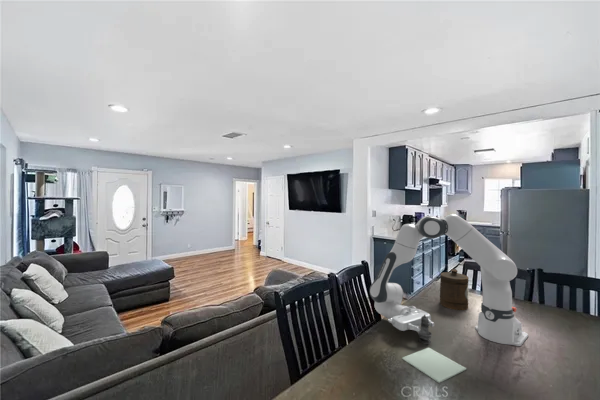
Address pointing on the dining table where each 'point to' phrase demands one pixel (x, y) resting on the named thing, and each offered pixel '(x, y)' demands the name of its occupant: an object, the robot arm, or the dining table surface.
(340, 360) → the dining table surface
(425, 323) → the grey metal vase shape
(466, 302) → the wooden container
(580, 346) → the dining table surface
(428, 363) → the mat
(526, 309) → the dining table surface
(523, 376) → the dining table surface
